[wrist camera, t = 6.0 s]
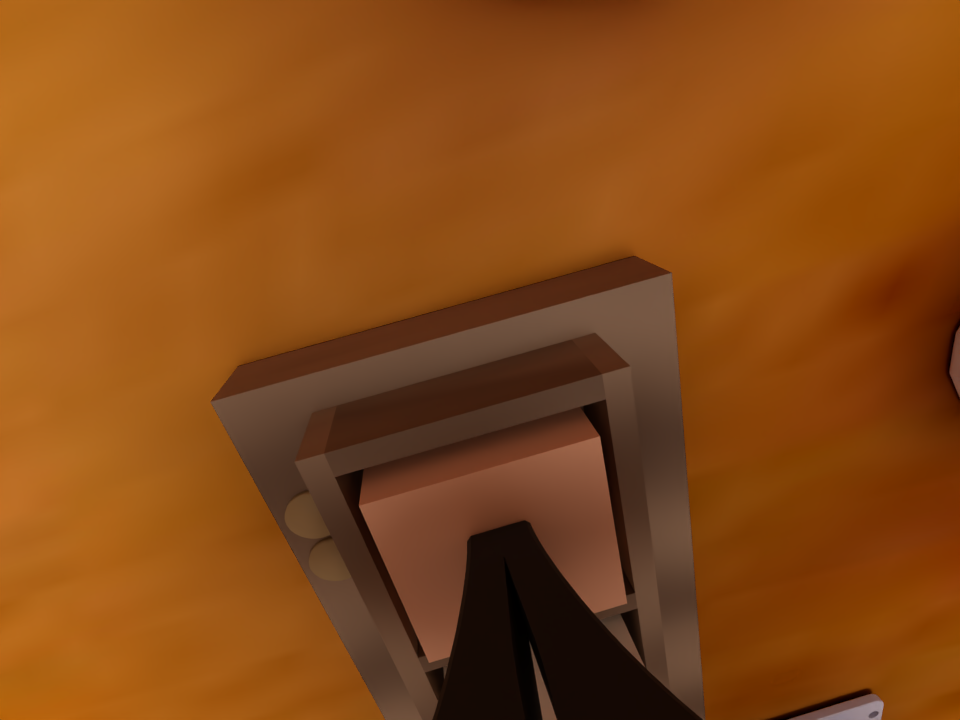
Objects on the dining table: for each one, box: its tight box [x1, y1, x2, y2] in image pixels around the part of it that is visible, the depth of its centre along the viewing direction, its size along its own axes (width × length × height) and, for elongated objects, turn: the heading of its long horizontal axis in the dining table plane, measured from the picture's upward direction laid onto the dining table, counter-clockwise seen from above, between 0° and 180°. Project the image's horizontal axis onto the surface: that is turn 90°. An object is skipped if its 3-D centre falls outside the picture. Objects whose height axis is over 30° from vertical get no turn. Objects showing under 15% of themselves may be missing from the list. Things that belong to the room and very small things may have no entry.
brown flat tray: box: [211, 256, 705, 720], centre depth 16 cm, size 22×11×4 cm, turn 14°
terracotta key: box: [359, 407, 627, 663], centre depth 12 cm, size 5×5×2 cm
